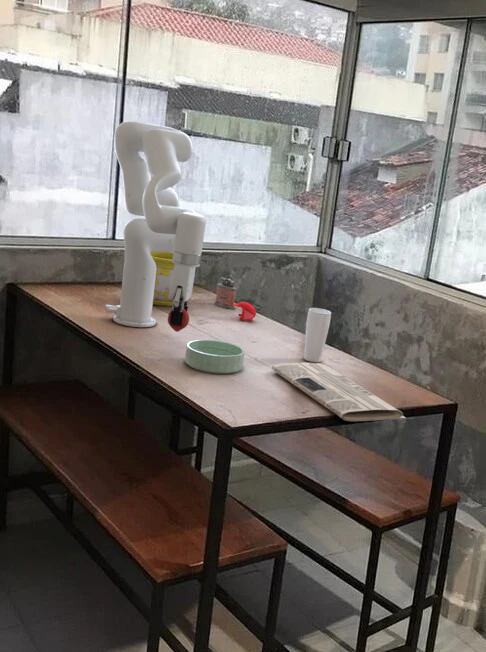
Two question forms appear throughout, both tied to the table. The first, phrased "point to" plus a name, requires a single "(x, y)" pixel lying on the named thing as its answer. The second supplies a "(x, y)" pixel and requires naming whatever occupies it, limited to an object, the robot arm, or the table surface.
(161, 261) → the flowerpot
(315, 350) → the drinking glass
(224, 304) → the lighter
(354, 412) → the newspaper
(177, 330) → the onion
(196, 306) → the table surface
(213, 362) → the bowl
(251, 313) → the red toy figurine
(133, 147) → the robot arm
